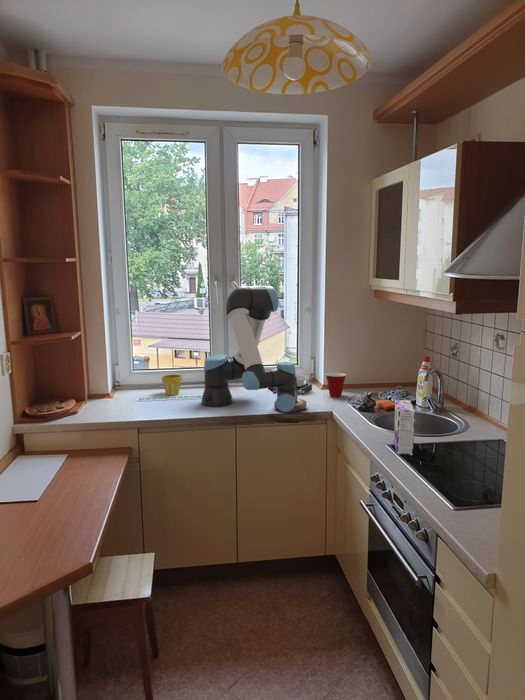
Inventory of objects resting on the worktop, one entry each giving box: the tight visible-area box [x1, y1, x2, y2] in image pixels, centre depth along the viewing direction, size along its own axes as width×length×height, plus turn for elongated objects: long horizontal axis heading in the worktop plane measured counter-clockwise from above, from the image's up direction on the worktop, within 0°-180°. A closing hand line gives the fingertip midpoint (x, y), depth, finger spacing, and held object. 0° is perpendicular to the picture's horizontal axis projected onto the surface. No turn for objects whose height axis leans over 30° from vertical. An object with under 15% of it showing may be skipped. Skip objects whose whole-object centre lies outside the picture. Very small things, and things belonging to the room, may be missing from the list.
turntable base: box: [277, 409, 304, 413], centre depth 232 cm, size 12×12×1 cm
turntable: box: [274, 398, 307, 411], centre depth 231 cm, size 15×15×2 cm
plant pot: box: [161, 373, 183, 396], centre depth 259 cm, size 10×10×10 cm
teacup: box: [295, 374, 310, 386], centre depth 263 cm, size 15×12×8 cm
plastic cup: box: [325, 372, 347, 398], centre depth 251 cm, size 11×11×12 cm
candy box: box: [393, 399, 416, 456], centre depth 179 cm, size 14×6×16 cm, turn 169°
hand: (290, 382), depth 233 cm, fingers open, 13 cm apart
